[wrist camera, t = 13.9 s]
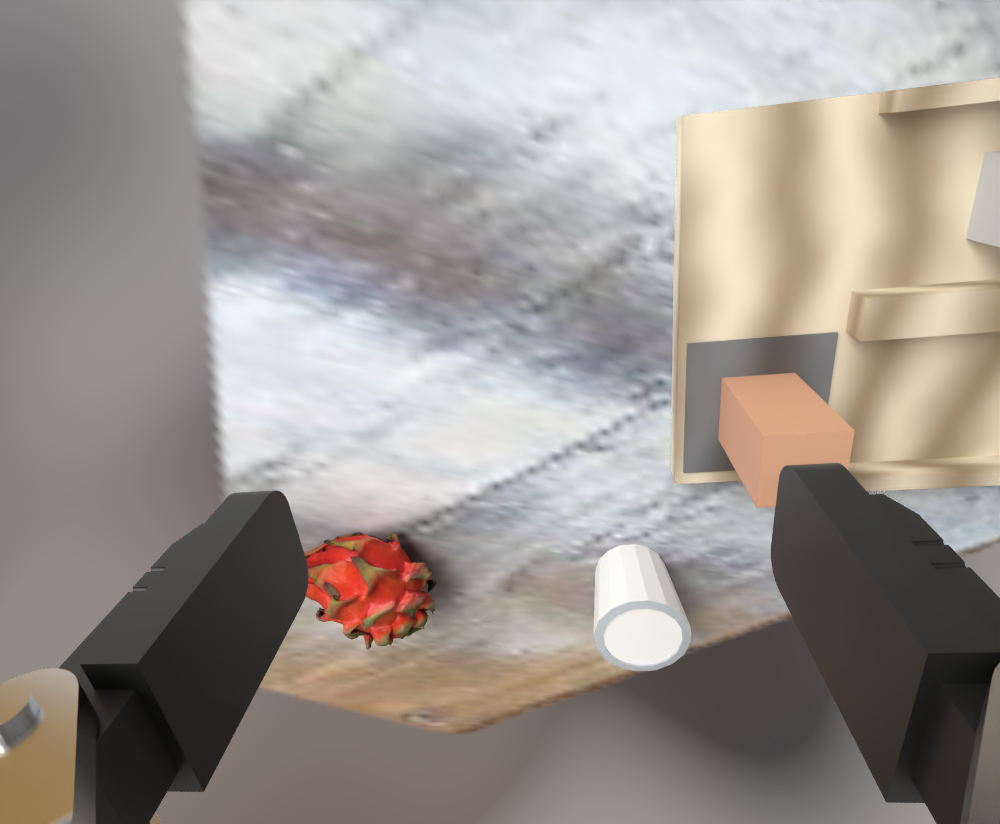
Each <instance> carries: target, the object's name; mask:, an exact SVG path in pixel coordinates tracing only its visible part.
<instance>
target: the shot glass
mask: <svg viewBox="0 0 1000 824" xmlns="http://www.w3.org/2000/svg"><path fill="white" fill-rule="evenodd" d="M594 639H595V645H596V648H597V650H598V651H599V652H600V653H601V655H602V656H603V657H604V659H605V660H607V661H609V662H611V663H612V664H614V665H616V666H617V667H619V668H624V669H628V670H633V671H650V670H657V669H660V668H662V667H665V666H668V665H671V664H673V663H674V662H675V661H676V660H678V659H679V658H680V657H681V656H683V655H684V654H685V652H686V650H687V648H688V646H689V644H690V642H691V626H690V624H689V622H688V619H687V617H686V614H685V612H684V610H683V607H682V605H681V602H680V600H679V598H678V595H677V593H676V590H675V588H674V586H673V583H672V581H671V578H670V576H669V574H668V571H667V569H666V566H665V564H664V562H663V561H662V559H661V558H660V556H659V555H658V554H657V553H656V552H654V551H653V550H651V549H650V548H648V547H645V546H640V545H635V544H631V545H621V546H618V547H616V548H614V549H611V550H609V551H607V552H606V553H605V554H604V555H603V556H602V557H601V558H600V559H599V562H598V565H597V567H596V573H595V608H594Z"/></svg>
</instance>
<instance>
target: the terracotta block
mask: <svg viewBox="0 0 1000 824" xmlns="http://www.w3.org/2000/svg"><path fill="white" fill-rule="evenodd" d="M854 433H855V430H854V429H853V428H852V427H851V426H850V425H849V424H848V423H846V422H845V421H844V420H843V419H842V418H841V417H840V416H839V415H838V414H837V413H836V412H835V411H834V410H833V409H832V408H831V407H830V406H829V405H828V404H827V403H826V402H825V401H824V400H823V399H822V398H821V397H820V396H819V395H818V394H817V393H816V392H814V391H813V390H812V389H811V388H810V387H809V386H808V385H807V384H806V383H805V382H804V381H803V380H802V379H801V378H800V377H799V376H798V375H797V374H796V373H785V374H771V375H756V376H741V377H726V378H722V386H721V402H720V419H719V436H718V440H719V441H720V443H721V445H722V447H723V449H724V450H725V452H726V454H727V456H728V458H729V459H730V461H731V463H732V465H733V467H734V468H735V470H736V472H737V474H738V476H739V477H740V479H741V481H742V483H743V485H744V486H745V488H746V490H747V492H748V494H749V495H750V497H751V499H752V501H753V503H754V504H755V506H756V508H758V507H776V499H777V490H778V481H779V476H780V472H781V470H782V468H783V467H784V466H787V465H803V464H823V463H840V464H842V465H843V466H844V467H845V468H846V469H847V470H848V468H849V462H850V456H851V450H852V444H853V438H854Z"/></svg>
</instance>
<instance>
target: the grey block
mask: <svg viewBox="0 0 1000 824" xmlns="http://www.w3.org/2000/svg"><path fill="white" fill-rule="evenodd" d="M966 239H969V240H973V241H977V242H981V243H985V244H989V245H993V246H997V247H1000V151H993V152H985V154H984V159H983V163H982V167H981V172H980V176H979V181H978V185H977V190H976V194H975V199H974V203H973V208H972V212H971V216H970V221H969V225H968V230H967V234H966Z"/></svg>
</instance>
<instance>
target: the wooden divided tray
mask: <svg viewBox="0 0 1000 824" xmlns="http://www.w3.org/2000/svg"><path fill="white" fill-rule="evenodd" d="M993 151H1000V78H993V79H985V80H977V81H968V82H960V83H952V84H943V85H935V86H926V87H918V88H910V89H901V90H894V91H886V92H877V93H869V94H861V95H852V96H844V97H836V98H827V99H819V100H811V101H802V102H794V103H786V104H777V105H769V106H761V107H752V108H744V109H735V110H727V111H719V112H710V113H702V114H694V115H685V116H678V117H677V133H676V187H675V240H674V294H673V347H672V401H671V454H670V470H671V473H672V476H673V479H674V481H675V484H688V483H708V482H729V481H741V479H740V477H739V476H738V474H737V472H736V470H735V468H734V467H733V465H732V463H731V461H730V459H729V458H728V456H727V454H726V452H725V450H724V449H723V447H722V445H721V443H720V441H719V440H718V436H719V419H720V402H721V386H722V378H726V377H741V376H756V375H771V374H785V373H796V374H797V375H798V376H799V377H800V378H801V379H802V380H803V381H804V382H805V383H806V384H807V385H808V386H809V387H810V388H811V389H812V390H813V391H814V392H816V393H817V394H818V395H819V396H820V397H821V398H822V399H823V400H824V401H825V402H826V403H827V404H828V405H829V406H830V407H831V408H832V409H833V410H834V411H835V412H836V413H837V414H838V415H839V416H840V417H841V418H842V419H843V420H844V421H845V422H846V423H848V424H849V425H850V426H851V427H852V428H853V429H854V430H855V433H854V438H853V444H852V450H851V456H850V462H849V468H848V471H849V472H850V473H851V474H852V475H853V477H854V478H855V479H856V480H857V481H858V482H859V483H860V484H861V486H862V487H863V488H864V489H865V490H866V491H888V490H909V489H931V488H952V487H974V486H996V485H1000V247H997V246H993V245H989V244H985V243H981V242H977V241H973V240H969V239H966V234H967V230H968V225H969V221H970V216H971V212H972V208H973V203H974V199H975V194H976V190H977V185H978V181H979V176H980V172H981V167H982V163H983V159H984V154H985V152H993Z"/></svg>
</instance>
